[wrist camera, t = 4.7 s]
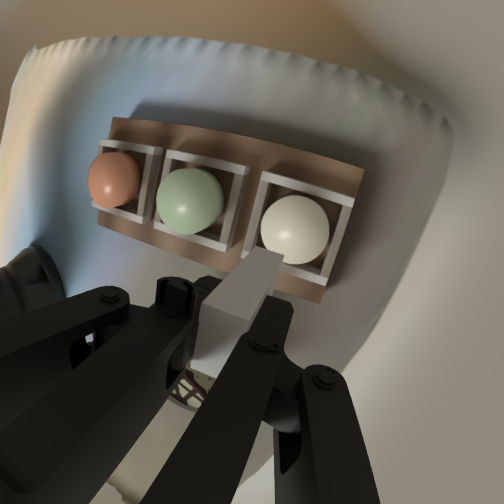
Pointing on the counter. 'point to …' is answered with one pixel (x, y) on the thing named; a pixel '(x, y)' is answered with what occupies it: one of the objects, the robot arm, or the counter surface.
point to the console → (231, 195)
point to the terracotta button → (113, 179)
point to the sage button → (190, 200)
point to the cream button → (295, 228)
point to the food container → (191, 389)
